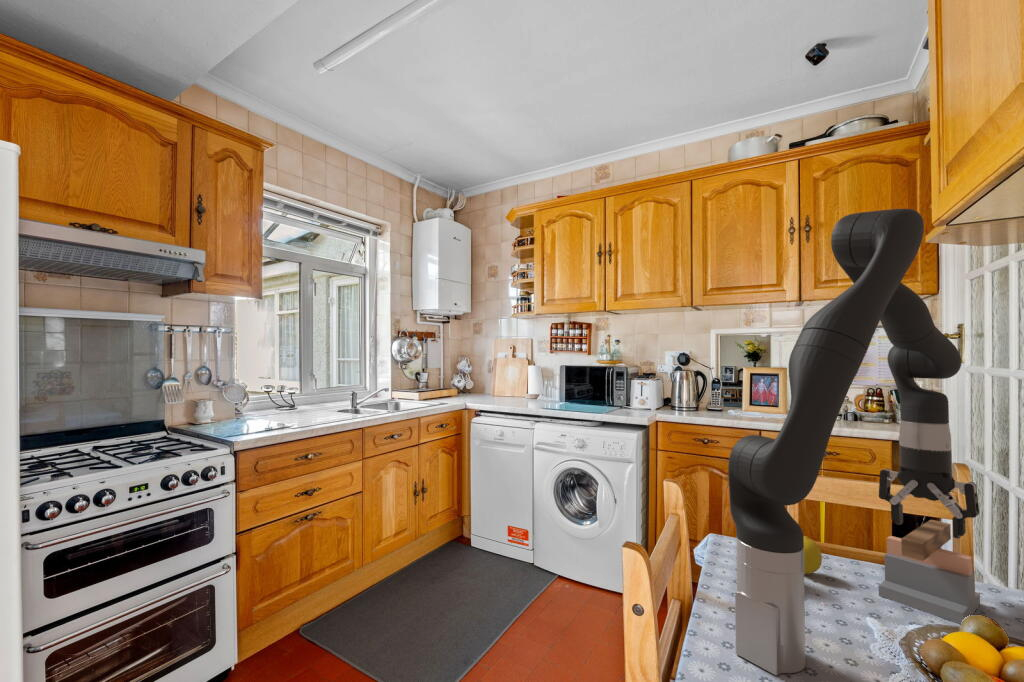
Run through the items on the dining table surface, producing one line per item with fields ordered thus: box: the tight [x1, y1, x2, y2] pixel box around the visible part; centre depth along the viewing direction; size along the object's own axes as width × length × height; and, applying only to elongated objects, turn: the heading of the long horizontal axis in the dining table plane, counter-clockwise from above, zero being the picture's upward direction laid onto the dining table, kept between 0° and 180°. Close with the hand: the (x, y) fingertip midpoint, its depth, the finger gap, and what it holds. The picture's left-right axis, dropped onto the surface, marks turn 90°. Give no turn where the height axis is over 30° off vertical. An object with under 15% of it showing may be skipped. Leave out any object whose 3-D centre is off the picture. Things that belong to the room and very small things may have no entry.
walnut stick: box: [901, 519, 952, 561], centre depth 89 cm, size 18×3×3 cm, turn 125°
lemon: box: [803, 535, 823, 576], centre depth 99 cm, size 6×6×8 cm
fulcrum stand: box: [878, 535, 981, 625], centre depth 89 cm, size 12×12×10 cm
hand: (926, 530), depth 89 cm, fingers open, 8 cm apart
